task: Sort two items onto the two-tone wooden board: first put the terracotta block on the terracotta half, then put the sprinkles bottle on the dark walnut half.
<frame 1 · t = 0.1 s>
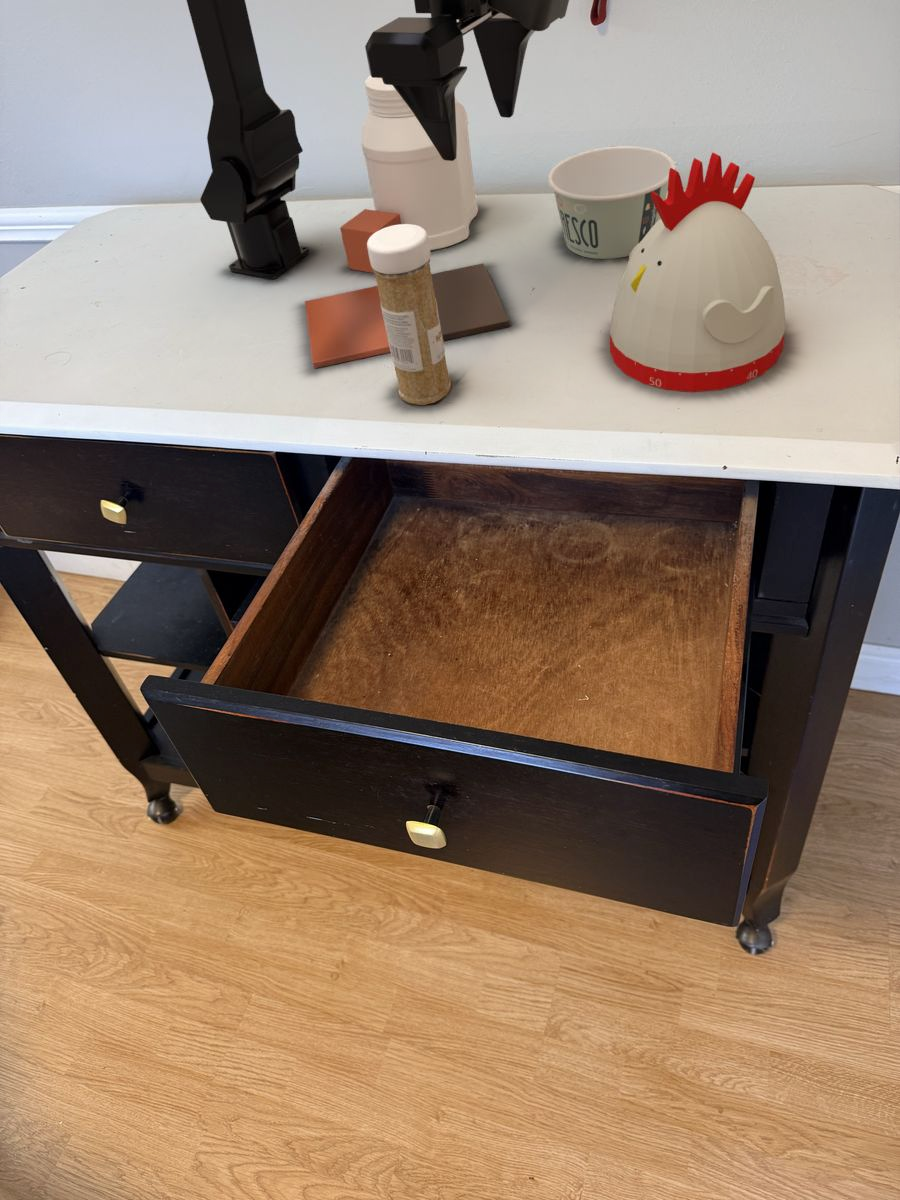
hand: (479, 137, 74), 15 cm above the worktop, tool pointing down, fingers open, 9 cm apart
sprinkles bottle: (425, 393, 76), on the worktop
food container: (611, 239, 91), on the worktop
jar: (430, 229, 98), on the worktop
kitchen timer: (694, 346, 75), on the worktop
terracotta block: (378, 262, 94), on the worktop
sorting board: (403, 316, 85), on the worktop
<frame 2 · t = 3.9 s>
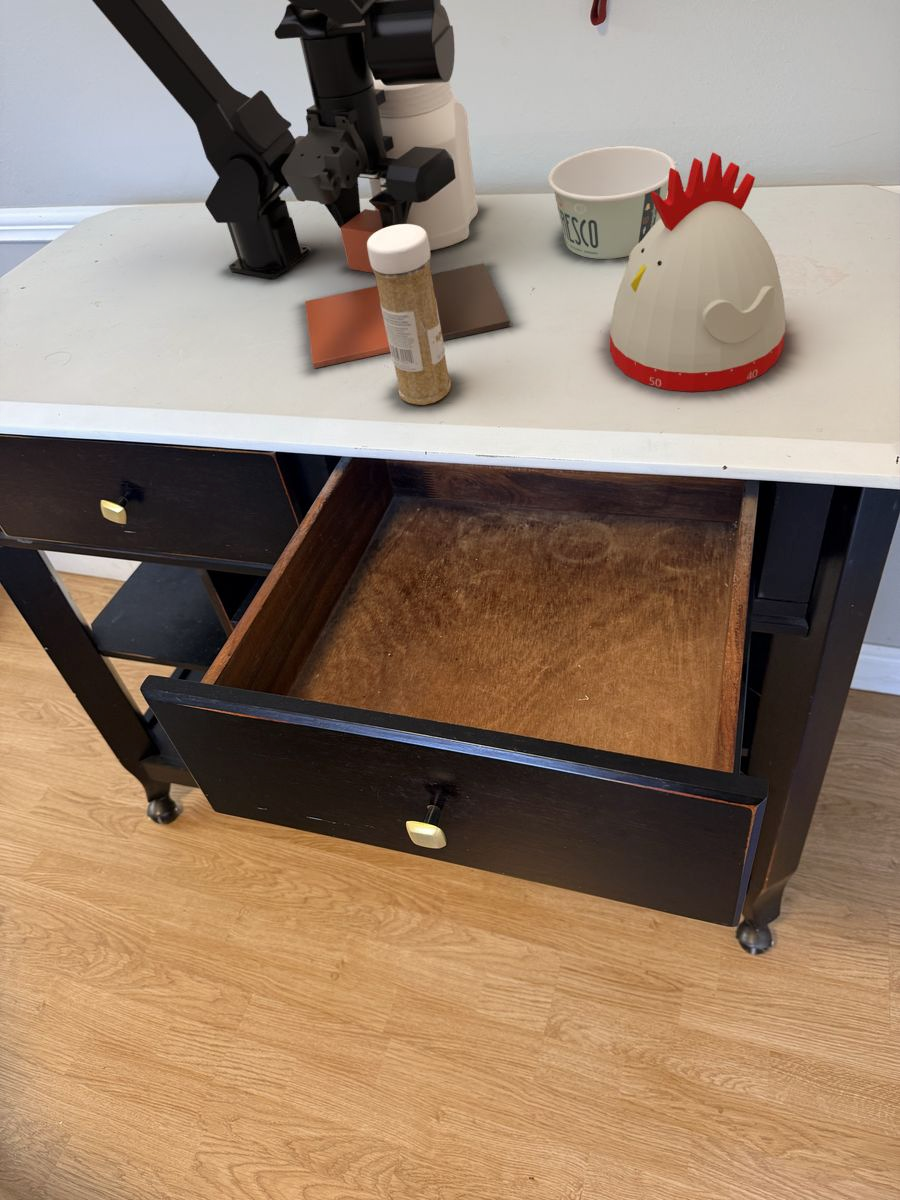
hand: (376, 252, 93), 1 cm above the worktop, tool pointing down, fingers closed on terracotta block, 4 cm apart
terracotta block: (378, 262, 94), on the worktop, touching gripper
everything else where it was.
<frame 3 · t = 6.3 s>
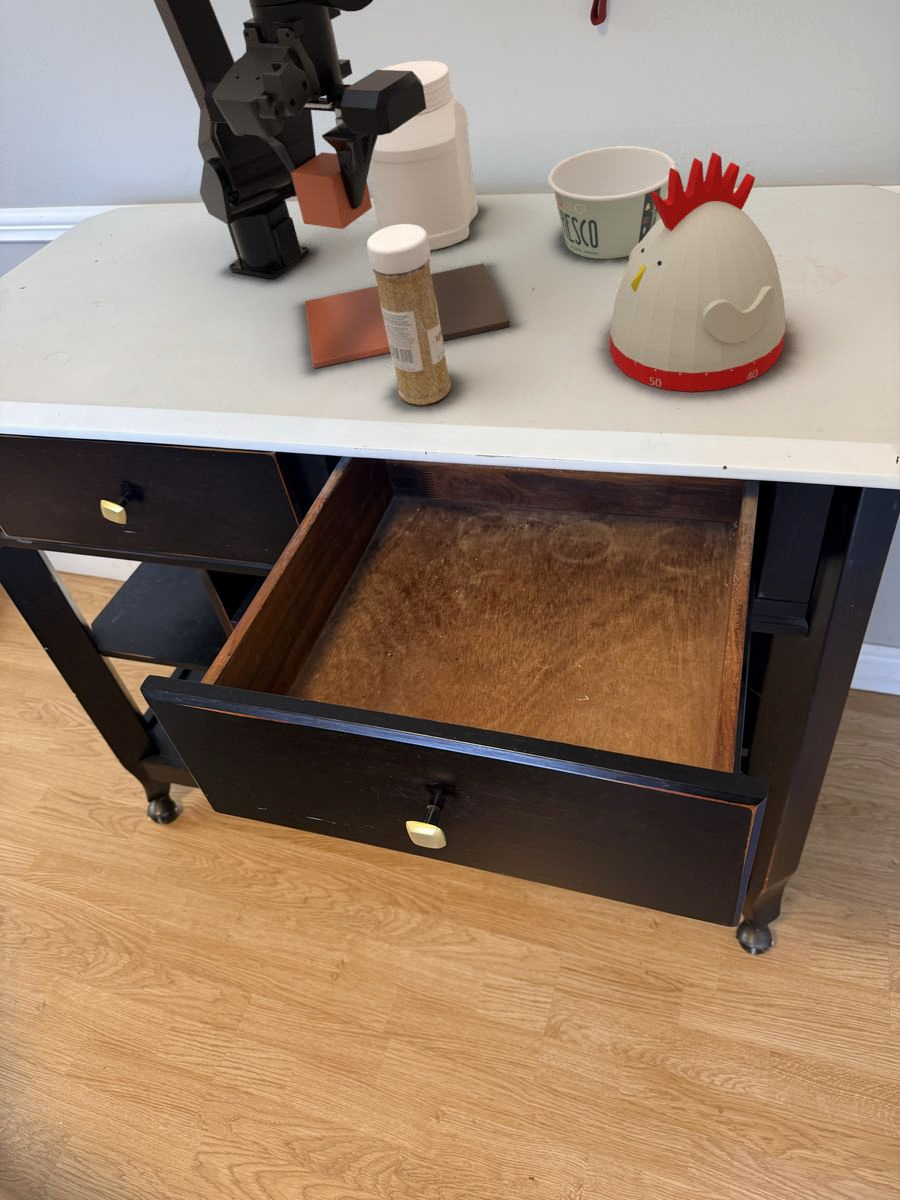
hand: (334, 204, 79), 11 cm above the worktop, tool pointing down, fingers closed on terracotta block, 4 cm apart
terracotta block: (338, 215, 79), point 10 cm above the worktop, touching gripper
everything else where it was.
when the fingers open (2 cm above the worktop, at t = 8.8 s): terracotta block stays where it is, resting on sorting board.
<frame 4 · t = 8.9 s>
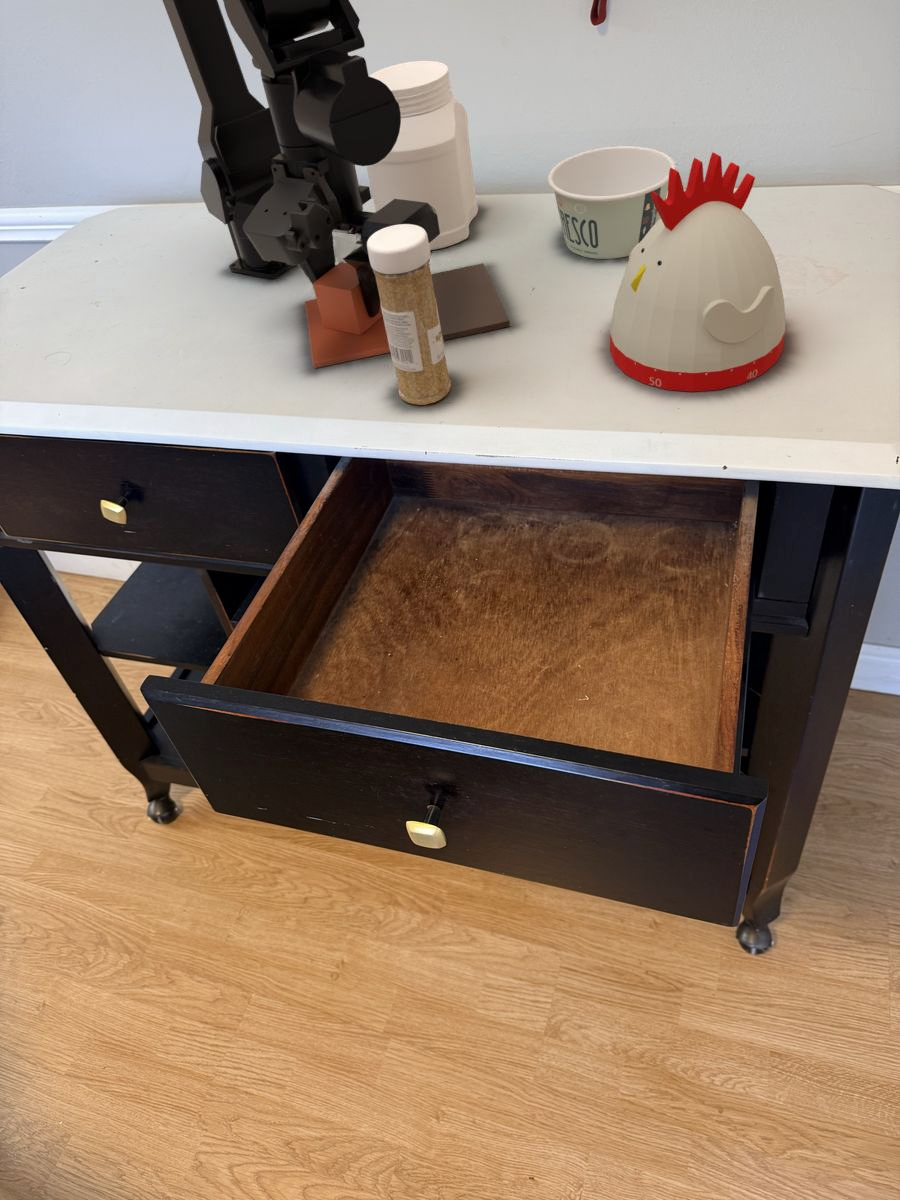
hand: (353, 311, 84), 2 cm above the worktop, tool pointing down, fingers open, 4 cm apart
terracotta block: (355, 319, 85), point 1 cm above the worktop, touching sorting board
everything else where it was.
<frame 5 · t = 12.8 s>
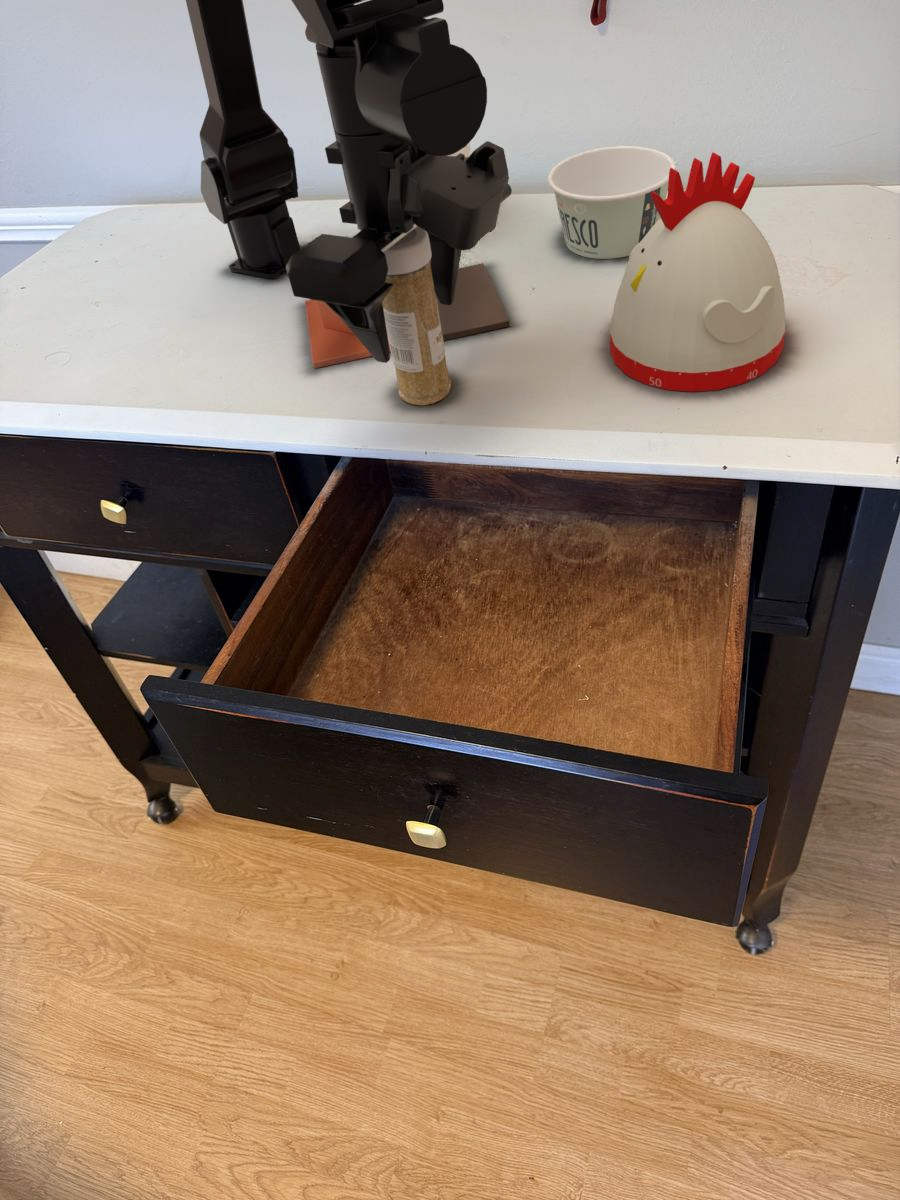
hand: (416, 331, 72), 6 cm above the worktop, tool pointing down
sprinkles bottle: (425, 393, 76), on the worktop, touching gripper
everything else where it was.
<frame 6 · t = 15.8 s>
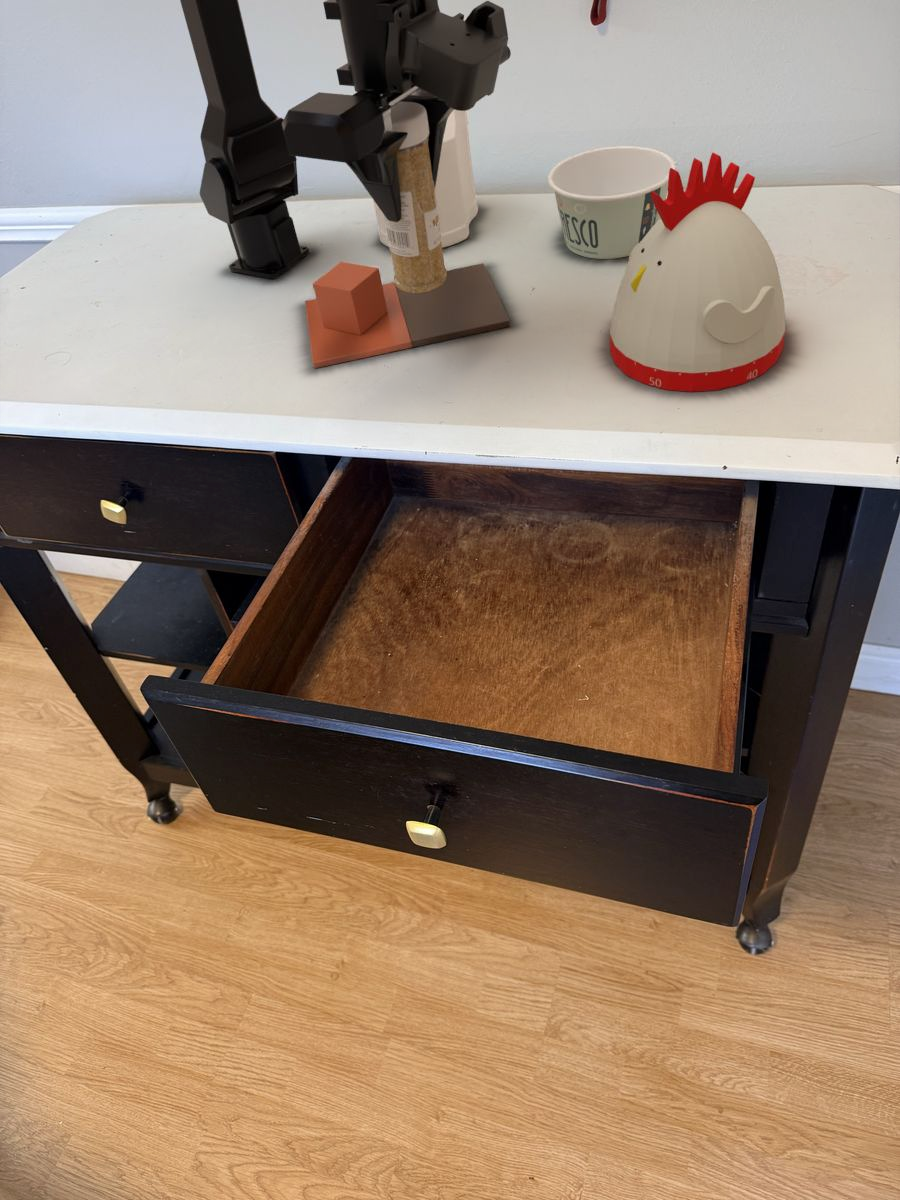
hand: (411, 207, 71), 13 cm above the worktop, tool pointing down, fingers closed on sprinkles bottle, 4 cm apart
sprinkles bottle: (421, 283, 76), point 6 cm above the worktop, touching gripper
everything else where it was.
when the fingers open (7 cm above the worktop, at t = 19.0 s): sprinkles bottle stays where it is, resting on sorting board.
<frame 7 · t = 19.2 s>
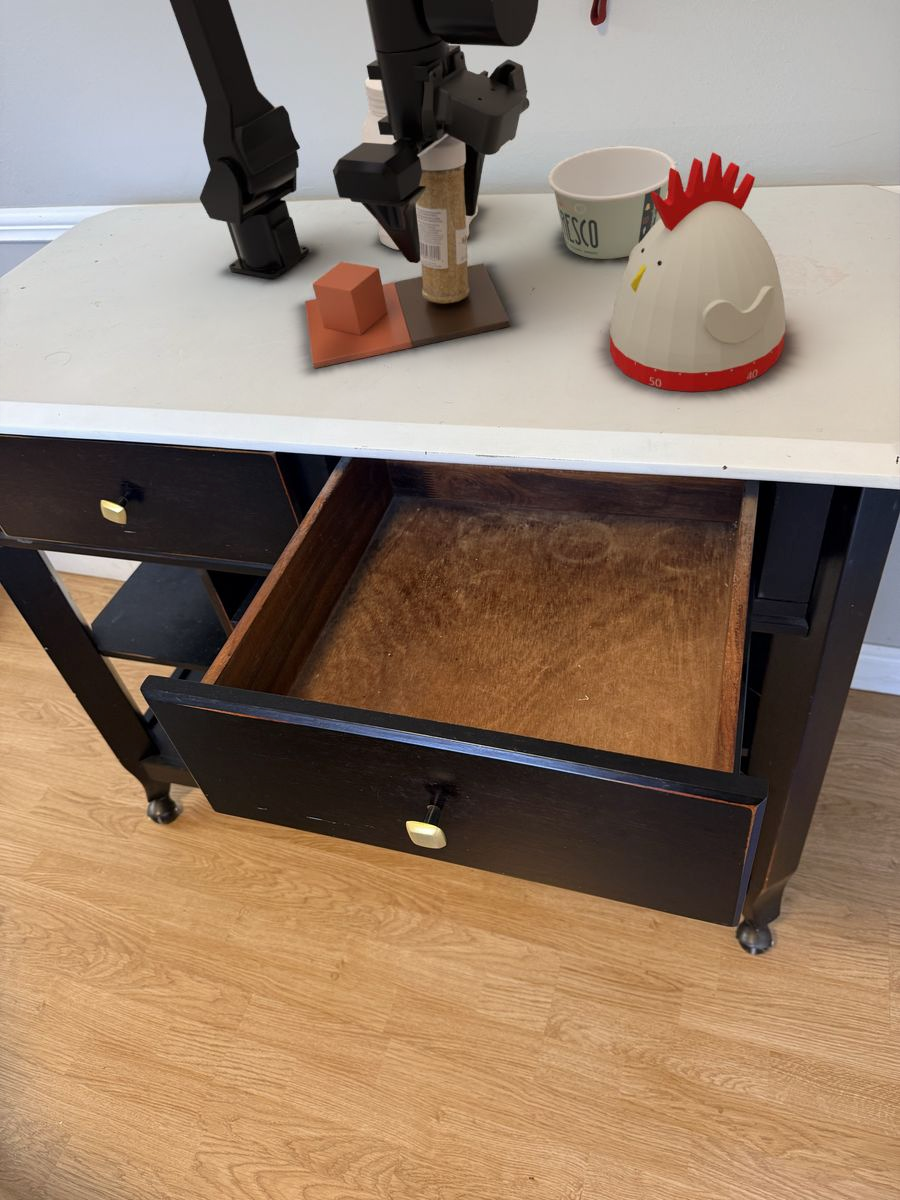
hand: (442, 237, 81), 7 cm above the worktop, tool pointing down, fingers open, 9 cm apart
sprinkles bottle: (445, 298, 85), point 1 cm above the worktop, touching gripper, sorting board
everything else where it was.
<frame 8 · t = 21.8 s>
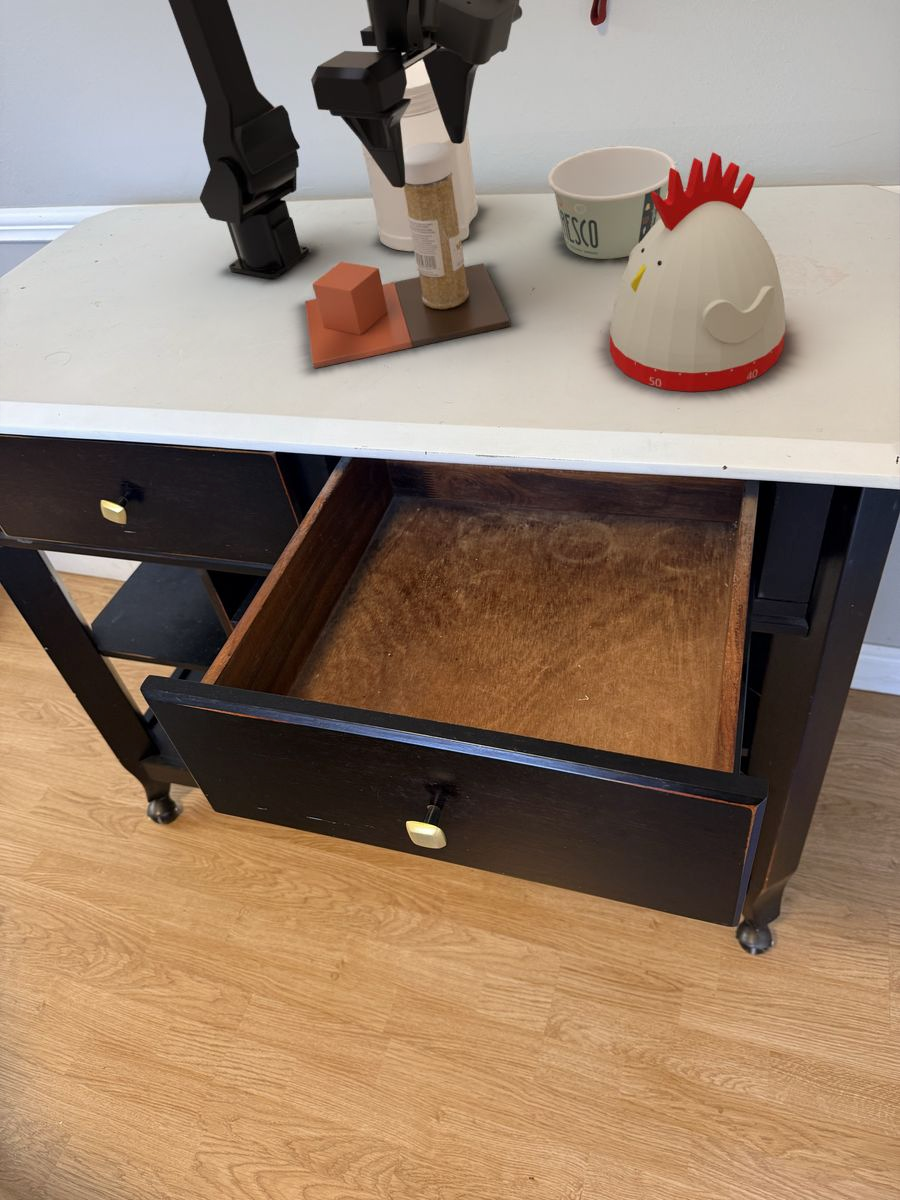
hand: (429, 164, 76), 13 cm above the worktop, tool pointing down, fingers open, 9 cm apart
sprinkles bottle: (446, 301, 85), resting on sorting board
everything else where it was.
at the end: terracotta block 0.1 cm from the target spot on the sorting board, point 0.6 cm above the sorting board's base; sprinkles bottle 0.4 cm from the target spot on the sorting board, point 0.4 cm above the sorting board's base; sprinkles bottle tilted 0° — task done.
